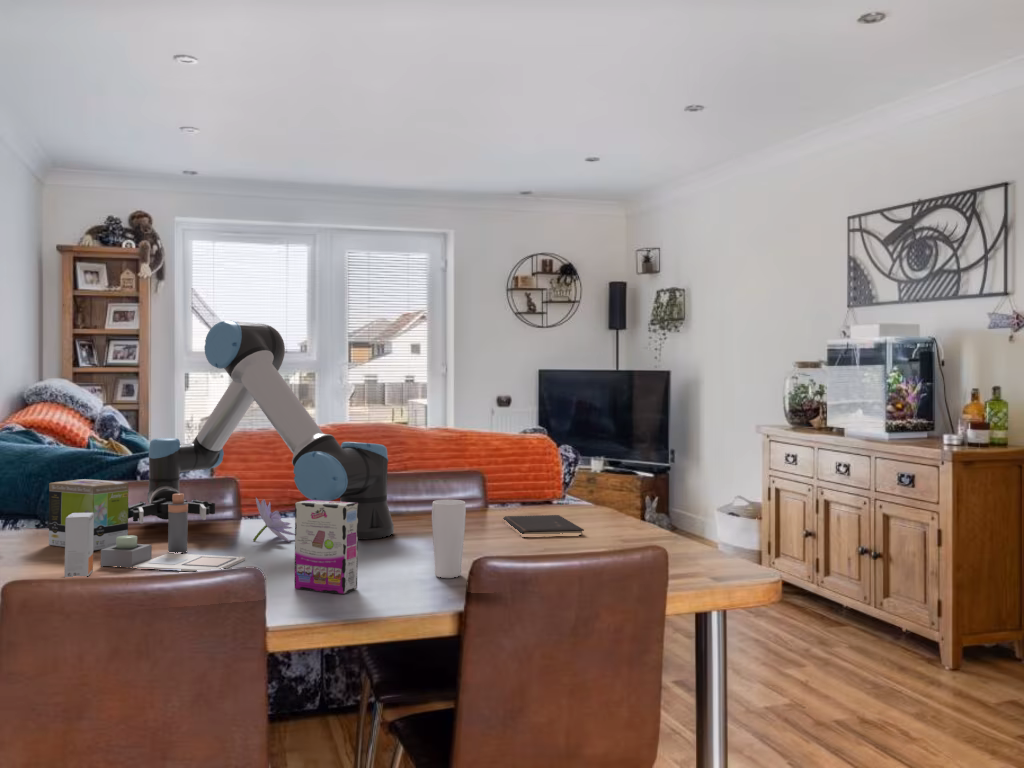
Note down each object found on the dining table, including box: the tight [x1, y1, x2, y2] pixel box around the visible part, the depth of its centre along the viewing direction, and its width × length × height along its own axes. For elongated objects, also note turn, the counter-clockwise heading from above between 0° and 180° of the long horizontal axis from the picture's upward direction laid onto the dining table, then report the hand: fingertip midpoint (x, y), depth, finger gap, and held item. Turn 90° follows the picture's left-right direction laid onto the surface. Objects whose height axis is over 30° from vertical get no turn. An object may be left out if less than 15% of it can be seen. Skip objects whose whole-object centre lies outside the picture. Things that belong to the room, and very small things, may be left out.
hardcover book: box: [502, 514, 585, 534], centre depth 228 cm, size 16×23×2 cm
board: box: [133, 552, 246, 571], centre depth 181 cm, size 18×13×1 cm
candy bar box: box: [294, 499, 359, 595], centre depth 162 cm, size 11×5×16 cm, turn 69°
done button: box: [116, 534, 138, 549], centre depth 180 cm, size 4×4×2 cm
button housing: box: [100, 543, 153, 568], centre depth 180 cm, size 7×7×4 cm
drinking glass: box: [431, 499, 467, 579], centre depth 174 cm, size 7×7×15 cm
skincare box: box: [63, 513, 94, 577], centre depth 170 cm, size 6×4×12 cm
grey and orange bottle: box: [167, 493, 189, 553], centre depth 192 cm, size 4×4×13 cm
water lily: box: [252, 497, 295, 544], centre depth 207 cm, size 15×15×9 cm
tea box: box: [48, 478, 130, 552], centre depth 199 cm, size 15×10×15 cm, turn 65°
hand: (173, 515), depth 200 cm, fingers open, 13 cm apart
